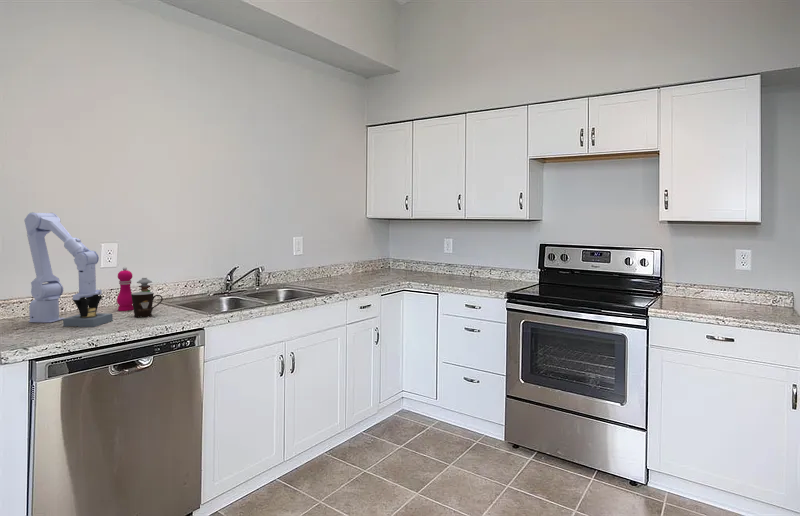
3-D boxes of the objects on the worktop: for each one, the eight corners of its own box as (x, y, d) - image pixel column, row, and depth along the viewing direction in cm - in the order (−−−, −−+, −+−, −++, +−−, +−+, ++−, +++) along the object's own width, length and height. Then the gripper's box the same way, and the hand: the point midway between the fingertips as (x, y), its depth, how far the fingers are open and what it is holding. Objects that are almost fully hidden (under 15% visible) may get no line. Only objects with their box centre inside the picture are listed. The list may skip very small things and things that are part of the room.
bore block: (63, 326, 188) (63, 318, 188) (84, 320, 200) (83, 313, 200) (93, 327, 188) (93, 319, 188) (112, 320, 200) (112, 313, 200)
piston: (79, 324, 192) (78, 309, 191) (87, 321, 197) (86, 307, 196) (92, 324, 192) (90, 309, 191) (100, 321, 197) (98, 306, 196)
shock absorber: (147, 308, 229) (146, 276, 228) (155, 309, 226) (155, 277, 225) (134, 310, 223) (133, 278, 222) (143, 311, 220) (142, 279, 219)
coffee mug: (129, 318, 206) (128, 294, 205) (134, 314, 214) (134, 292, 213) (159, 317, 209) (158, 294, 208) (163, 313, 217) (163, 291, 216)
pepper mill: (130, 307, 230) (129, 265, 228) (137, 309, 225) (136, 266, 224) (114, 309, 224) (113, 266, 223) (120, 311, 220) (119, 267, 218)
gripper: (84, 283, 186) (86, 318, 187) (108, 279, 200) (109, 311, 201) (66, 283, 186) (68, 318, 187) (91, 279, 200) (92, 311, 201)
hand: (88, 315), depth 194 cm, fingers closed on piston, 5 cm apart
